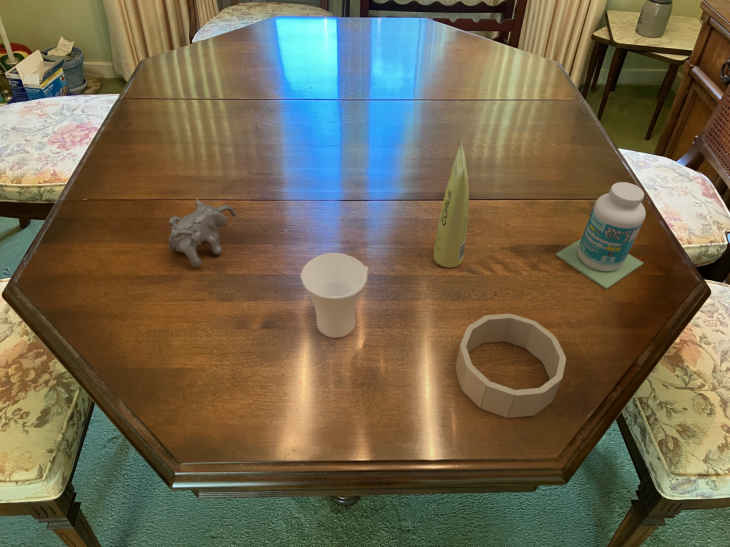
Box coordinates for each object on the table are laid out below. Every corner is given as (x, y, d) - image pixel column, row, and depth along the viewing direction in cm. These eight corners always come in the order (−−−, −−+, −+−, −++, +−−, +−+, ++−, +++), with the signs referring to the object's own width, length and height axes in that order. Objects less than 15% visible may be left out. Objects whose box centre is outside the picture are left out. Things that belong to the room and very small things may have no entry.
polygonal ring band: (575, 383, 73) (586, 360, 70) (508, 435, 67) (516, 413, 64) (502, 324, 80) (509, 300, 77) (436, 366, 75) (440, 342, 71)
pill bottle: (568, 258, 91) (592, 190, 81) (588, 238, 95) (614, 170, 85) (611, 280, 87) (641, 211, 78) (630, 258, 91) (662, 190, 82)
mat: (642, 264, 91) (643, 262, 90) (605, 289, 86) (606, 287, 86) (592, 233, 96) (592, 231, 96) (555, 255, 92) (555, 253, 92)
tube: (424, 254, 92) (436, 151, 78) (446, 243, 94) (461, 140, 80) (447, 273, 88) (464, 168, 75) (470, 260, 91) (490, 157, 77)
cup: (374, 340, 78) (376, 290, 71) (309, 350, 76) (305, 300, 70) (361, 296, 84) (362, 246, 77) (301, 305, 83) (296, 255, 76)
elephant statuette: (161, 260, 90) (149, 223, 84) (203, 219, 98) (195, 182, 92) (209, 275, 87) (200, 238, 82) (249, 232, 95) (243, 195, 90)
